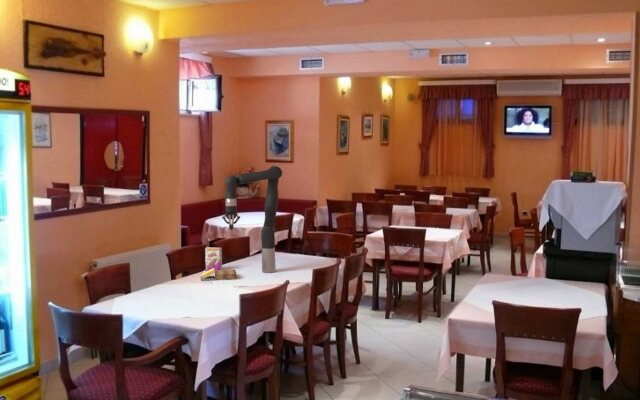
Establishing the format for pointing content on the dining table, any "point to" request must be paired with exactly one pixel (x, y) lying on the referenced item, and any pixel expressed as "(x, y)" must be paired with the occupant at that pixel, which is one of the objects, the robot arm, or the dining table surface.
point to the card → (208, 273)
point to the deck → (225, 274)
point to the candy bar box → (213, 258)
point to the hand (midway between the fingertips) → (231, 229)
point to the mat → (208, 278)
